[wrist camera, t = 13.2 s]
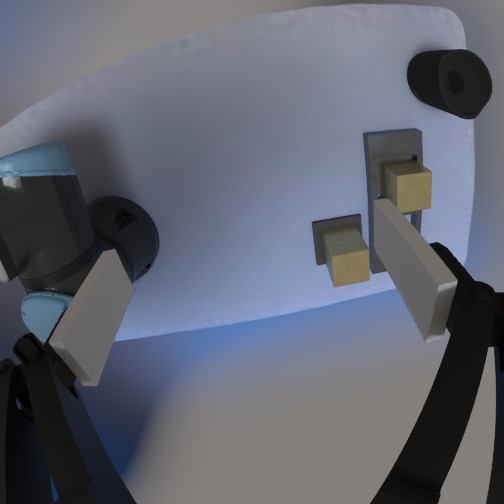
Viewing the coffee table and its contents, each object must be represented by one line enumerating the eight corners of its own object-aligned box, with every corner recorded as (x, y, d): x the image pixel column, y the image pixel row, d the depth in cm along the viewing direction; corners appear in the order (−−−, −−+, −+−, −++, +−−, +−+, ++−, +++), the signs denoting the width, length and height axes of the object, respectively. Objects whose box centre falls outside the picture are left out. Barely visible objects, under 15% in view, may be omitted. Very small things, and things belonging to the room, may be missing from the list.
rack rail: (369, 267, 55) (372, 274, 53) (363, 133, 42) (367, 136, 41) (413, 258, 54) (417, 264, 52) (415, 128, 41) (421, 131, 40)
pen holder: (398, 49, 35) (433, 48, 27) (448, 49, 34) (487, 51, 26) (408, 109, 40) (443, 121, 31) (456, 105, 39) (494, 118, 30)
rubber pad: (316, 263, 54) (317, 265, 54) (311, 221, 50) (312, 223, 49) (361, 255, 53) (362, 256, 53) (359, 213, 49) (360, 215, 49)
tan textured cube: (323, 258, 53) (334, 287, 46) (320, 229, 50) (331, 256, 43) (355, 252, 52) (369, 280, 45) (353, 223, 49) (369, 249, 43)
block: (377, 192, 47) (397, 213, 40) (375, 158, 44) (397, 175, 38) (407, 187, 47) (430, 208, 40) (407, 155, 44) (431, 171, 37)
